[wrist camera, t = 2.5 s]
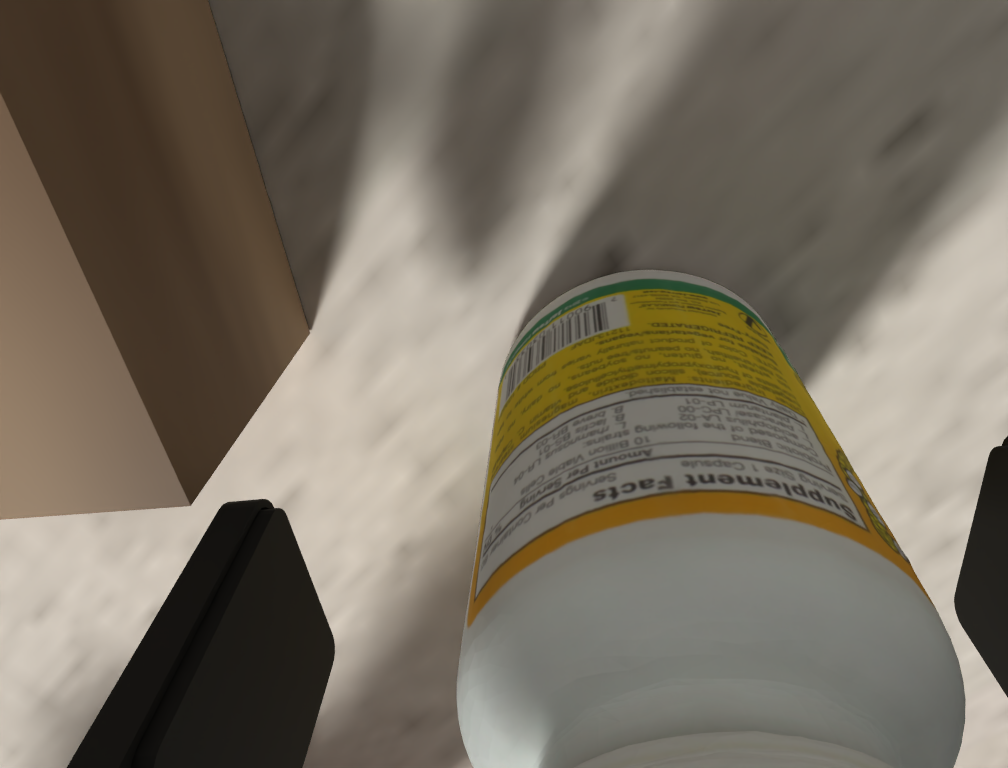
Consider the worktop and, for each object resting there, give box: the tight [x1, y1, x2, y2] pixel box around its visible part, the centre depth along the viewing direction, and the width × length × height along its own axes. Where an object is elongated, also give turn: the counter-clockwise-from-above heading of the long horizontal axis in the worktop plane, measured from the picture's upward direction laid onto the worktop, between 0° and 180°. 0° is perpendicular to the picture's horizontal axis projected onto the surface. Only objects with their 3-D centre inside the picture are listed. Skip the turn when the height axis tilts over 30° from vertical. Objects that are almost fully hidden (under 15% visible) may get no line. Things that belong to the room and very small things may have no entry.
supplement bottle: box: [456, 270, 965, 768], centre depth 9 cm, size 5×5×10 cm
